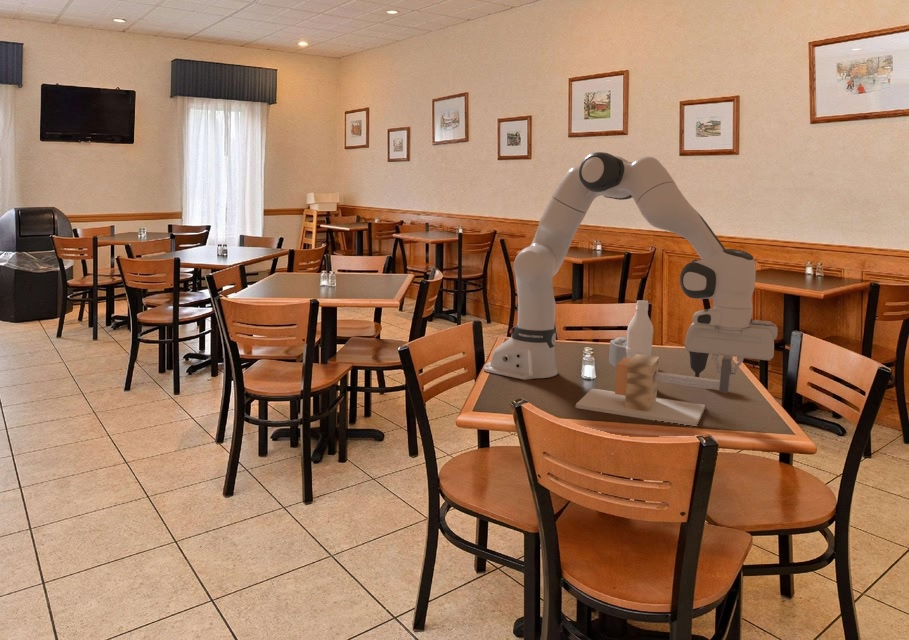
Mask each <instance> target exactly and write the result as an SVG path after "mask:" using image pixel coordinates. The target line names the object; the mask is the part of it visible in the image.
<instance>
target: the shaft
mask: <svg viewBox="0 0 909 640" xmlns="http://www.w3.org/2000/svg"><path fill="white" fill-rule="evenodd" d="M733 358H734V356H726V355H723V358H722V360H721V364H722V366H721V373H720V379H715V378H714V379H713V378H705V377H701V376H699V377H695V376H692V375H691V376H690V375H683V374H678V373H677V374H676V373H669V372H661V371H658V372H654V381H656V382H658V383H663V384H664V383H665V384H672V385H679V386H686V387H693V388H694V387H695V388H701V389H702V388H703V389H708V390H709V389H710V390H715V391H716V390H717V391H718V393H725V394H728V393H729V391H730V388H731V376H732V374H730V371H731V366H733Z"/></svg>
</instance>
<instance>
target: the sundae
mask: <svg viewBox="0 0 909 640" xmlns="http://www.w3.org/2000/svg"><path fill="white" fill-rule="evenodd" d="M688 353H689V364H690V369H691V370H692V371H693V372H694V377H700V374H701V373H702V372H704V371H705V369H706V367H707V363H708V362H707V361H708V357H709V355H710V354H709V353H700V352H691V351H688Z"/></svg>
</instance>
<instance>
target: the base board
mask: <svg viewBox="0 0 909 640" xmlns="http://www.w3.org/2000/svg"><path fill="white" fill-rule="evenodd" d="M625 399H626V396H624V395H617V394H615V391H612V390H605V389H598V388H591V389H590V390H589V391H587V393H586V394H585V395H584V396H583V397H581V398H580V400H579V401H577V402H576V404H575V409H580V410H586V411H591V412H592V411H593V412H599V413H603V414H604V413H606V414H612V415H618V416H624V417H631V418H636V419H637V418H638V419H643V420H648V421H655V420H657V421H656V422H661V421H664V422H663V423H667V422H671V423H670V424H673V423H678V424H677V425H680V424H684V425H683V426H686V425H692V426H697V427H698V425H699V423H700V421H699V420H701V418H702V416H703V414H704V411H705V408H706V405H705V404H701V403H694V402H688V401H681V400H674V399H667V398H660V397H656V402H655V403H654V405H653V406H652V408H651V409H650V411H649V412H646V411H640V410H634V409H627V408H625ZM698 422H699V423H698ZM697 424H698V425H697ZM692 426H691V427H692Z"/></svg>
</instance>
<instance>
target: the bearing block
mask: <svg viewBox="0 0 909 640" xmlns="http://www.w3.org/2000/svg"><path fill="white" fill-rule="evenodd" d="M659 367H660V356H655V355H654V356H653V355H651V356H647V355H639V354H636V355H635V356H634V357H633V358H632V359H631V360H630V361H629V362H628V371H627V385H626V399H625V408H627V409H634V410H640V411H646V412H649V411H650V409H651V408H652V406H653V405H654V403H655V402H656V398H657V393H658V383H659V382H656V381H654V372H659Z"/></svg>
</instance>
